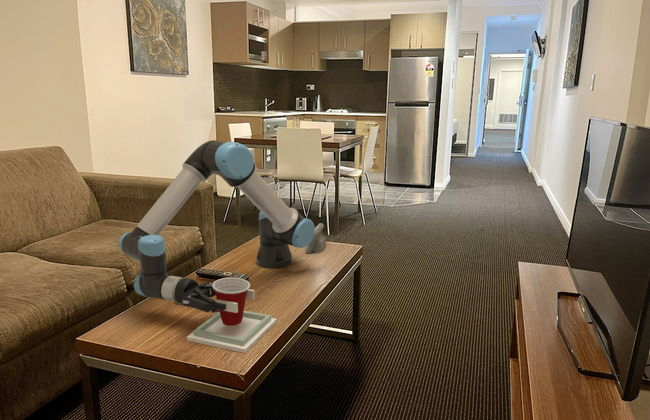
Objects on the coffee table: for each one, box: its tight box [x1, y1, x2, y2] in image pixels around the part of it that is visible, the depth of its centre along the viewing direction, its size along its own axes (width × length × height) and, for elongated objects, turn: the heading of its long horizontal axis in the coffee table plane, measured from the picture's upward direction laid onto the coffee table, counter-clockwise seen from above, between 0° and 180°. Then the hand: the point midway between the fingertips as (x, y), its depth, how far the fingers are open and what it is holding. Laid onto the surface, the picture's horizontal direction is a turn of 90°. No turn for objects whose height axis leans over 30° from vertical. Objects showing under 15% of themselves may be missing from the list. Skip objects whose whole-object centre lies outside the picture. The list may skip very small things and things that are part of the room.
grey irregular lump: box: [304, 222, 327, 254], centre depth 210 cm, size 16×9×11 cm, turn 156°
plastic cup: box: [212, 276, 251, 326], centre depth 134 cm, size 11×11×12 cm
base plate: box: [186, 310, 278, 354], centre depth 136 cm, size 19×19×3 cm
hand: (245, 301), depth 132 cm, fingers closed on plastic cup, 9 cm apart
